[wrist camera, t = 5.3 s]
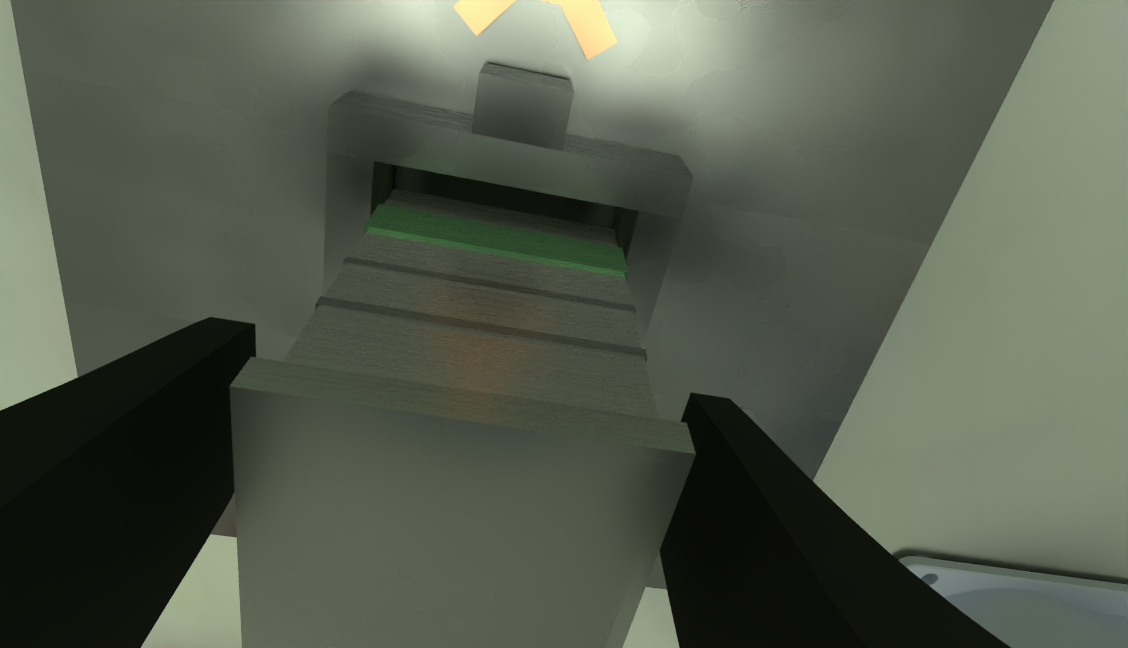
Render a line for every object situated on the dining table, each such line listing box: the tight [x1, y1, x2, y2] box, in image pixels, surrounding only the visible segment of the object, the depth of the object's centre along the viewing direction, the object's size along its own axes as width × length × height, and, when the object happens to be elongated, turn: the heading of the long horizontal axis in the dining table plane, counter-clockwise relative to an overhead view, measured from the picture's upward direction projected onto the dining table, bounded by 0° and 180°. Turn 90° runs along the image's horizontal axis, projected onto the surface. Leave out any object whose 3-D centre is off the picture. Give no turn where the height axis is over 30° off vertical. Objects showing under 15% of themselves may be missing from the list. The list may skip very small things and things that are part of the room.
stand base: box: [11, 0, 1054, 589], centre depth 14 cm, size 18×18×2 cm
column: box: [230, 189, 696, 648], centre depth 10 cm, size 4×4×6 cm
